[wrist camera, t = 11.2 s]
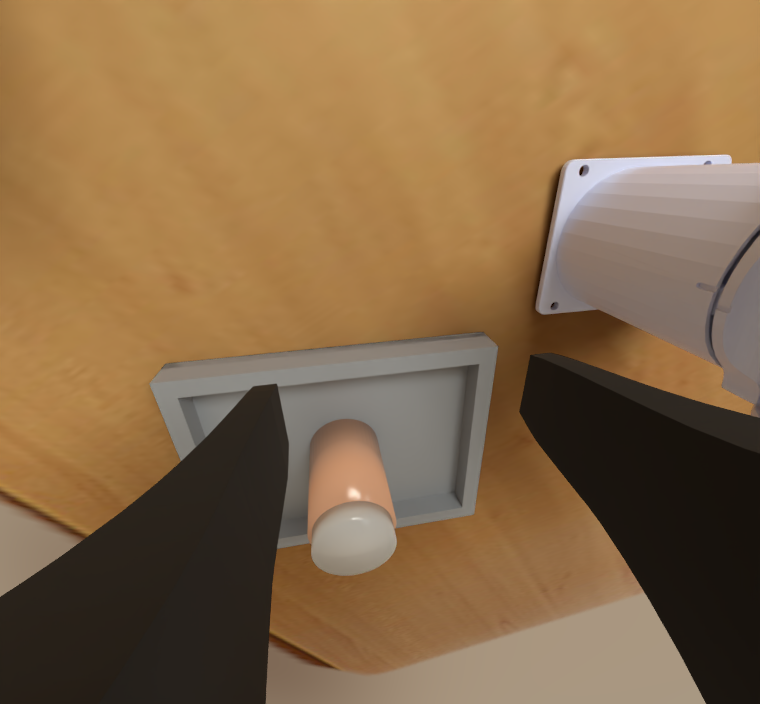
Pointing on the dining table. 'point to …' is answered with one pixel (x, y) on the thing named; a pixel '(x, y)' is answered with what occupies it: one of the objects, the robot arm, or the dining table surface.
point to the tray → (357, 414)
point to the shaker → (349, 500)
